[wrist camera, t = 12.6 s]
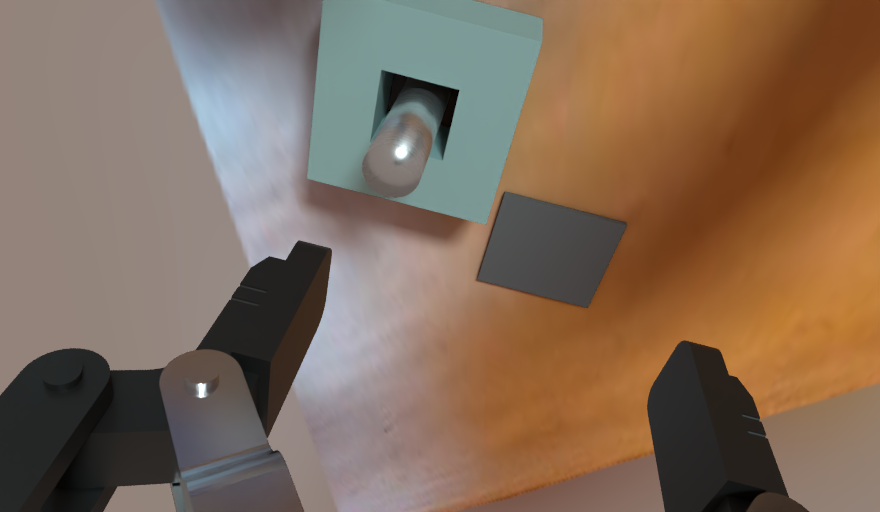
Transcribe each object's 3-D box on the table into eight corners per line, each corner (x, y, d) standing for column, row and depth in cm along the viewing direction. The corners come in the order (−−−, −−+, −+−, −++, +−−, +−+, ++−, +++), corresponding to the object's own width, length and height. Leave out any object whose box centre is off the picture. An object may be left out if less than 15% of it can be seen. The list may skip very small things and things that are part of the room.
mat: (626, 222, 44) (626, 225, 43) (587, 304, 48) (587, 308, 48) (505, 191, 44) (504, 194, 43) (477, 276, 48) (477, 279, 48)
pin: (455, 72, 39) (426, 152, 29) (446, 115, 41) (415, 203, 31) (410, 60, 39) (366, 136, 29) (402, 103, 41) (358, 189, 31)
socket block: (542, 18, 36) (542, 42, 32) (491, 188, 44) (485, 224, 39) (348, -33, 36) (324, -15, 32) (329, 145, 43) (306, 178, 39)
